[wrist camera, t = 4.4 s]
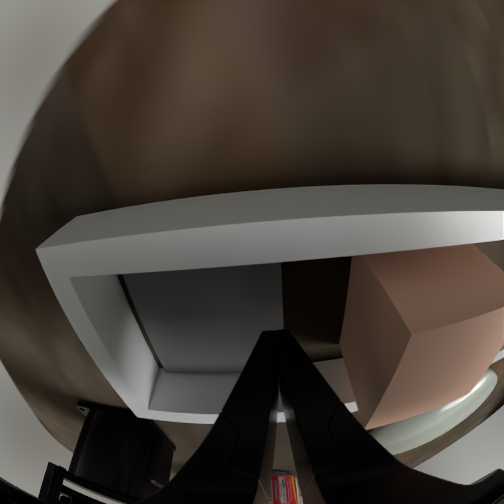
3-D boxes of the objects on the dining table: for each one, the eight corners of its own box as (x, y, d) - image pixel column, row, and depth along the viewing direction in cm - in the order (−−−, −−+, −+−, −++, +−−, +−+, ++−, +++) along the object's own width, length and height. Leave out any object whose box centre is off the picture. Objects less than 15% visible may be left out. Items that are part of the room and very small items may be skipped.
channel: (148, 378, 12) (137, 417, 10) (76, 216, 8) (35, 249, 6) (496, 326, 11) (514, 351, 9) (540, 193, 7) (570, 212, 5)
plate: (349, 459, 20) (351, 466, 20) (390, 397, 14) (394, 409, 13) (454, 423, 20) (456, 429, 19) (514, 346, 13) (519, 354, 12)
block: (338, 342, 11) (363, 430, 7) (352, 240, 9) (411, 334, 5) (429, 324, 11) (468, 393, 7) (458, 233, 9) (528, 297, 5)
